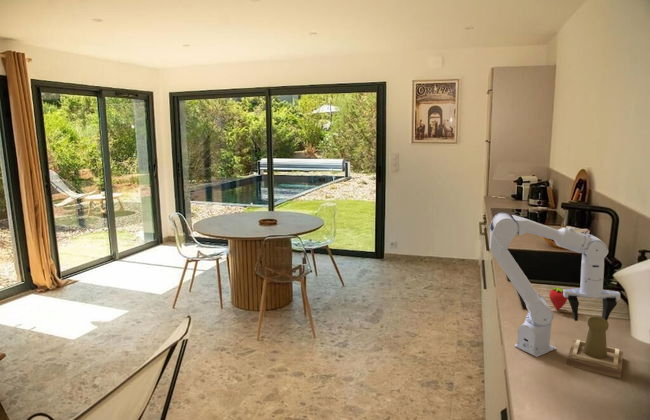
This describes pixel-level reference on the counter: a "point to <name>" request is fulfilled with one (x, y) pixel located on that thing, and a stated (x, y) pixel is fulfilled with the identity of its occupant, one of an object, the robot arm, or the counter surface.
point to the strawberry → (557, 297)
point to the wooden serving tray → (596, 360)
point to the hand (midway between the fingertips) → (589, 320)
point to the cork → (596, 338)
